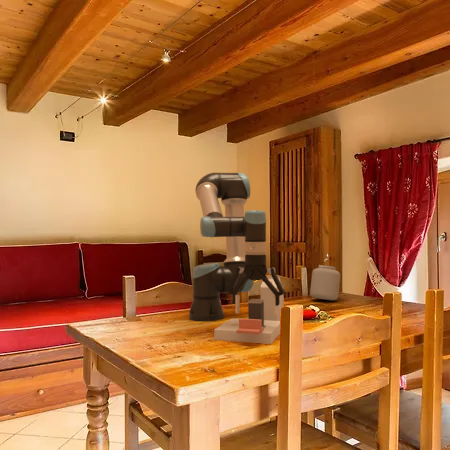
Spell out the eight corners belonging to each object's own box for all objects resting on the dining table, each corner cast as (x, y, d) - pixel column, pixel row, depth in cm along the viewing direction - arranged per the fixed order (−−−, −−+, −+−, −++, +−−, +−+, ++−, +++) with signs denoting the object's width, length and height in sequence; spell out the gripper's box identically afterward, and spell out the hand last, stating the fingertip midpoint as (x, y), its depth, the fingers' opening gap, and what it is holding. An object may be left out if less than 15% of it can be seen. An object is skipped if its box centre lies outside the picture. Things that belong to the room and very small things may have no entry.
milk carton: (268, 320, 178) (267, 275, 178) (284, 322, 174) (283, 275, 174) (260, 324, 172) (260, 276, 172) (276, 326, 168) (276, 277, 168)
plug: (251, 334, 154) (251, 298, 154) (264, 335, 152) (263, 299, 152) (248, 337, 149) (248, 300, 150) (261, 338, 148) (260, 301, 148)
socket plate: (231, 327, 166) (231, 318, 166) (282, 330, 160) (282, 321, 160) (214, 339, 147) (214, 329, 147) (271, 343, 141) (271, 333, 141)
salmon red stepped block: (242, 328, 148) (242, 316, 148) (263, 329, 145) (263, 317, 145) (236, 333, 140) (236, 321, 141) (258, 334, 138) (258, 322, 138)
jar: (325, 297, 240) (324, 252, 241) (348, 300, 229) (347, 253, 230) (304, 301, 228) (303, 254, 228) (327, 304, 217) (327, 255, 217)
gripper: (218, 254, 152) (219, 313, 152) (288, 254, 144) (289, 317, 144) (225, 252, 159) (225, 309, 159) (292, 253, 151) (292, 313, 151)
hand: (256, 313), depth 151 cm, fingers open, 13 cm apart
